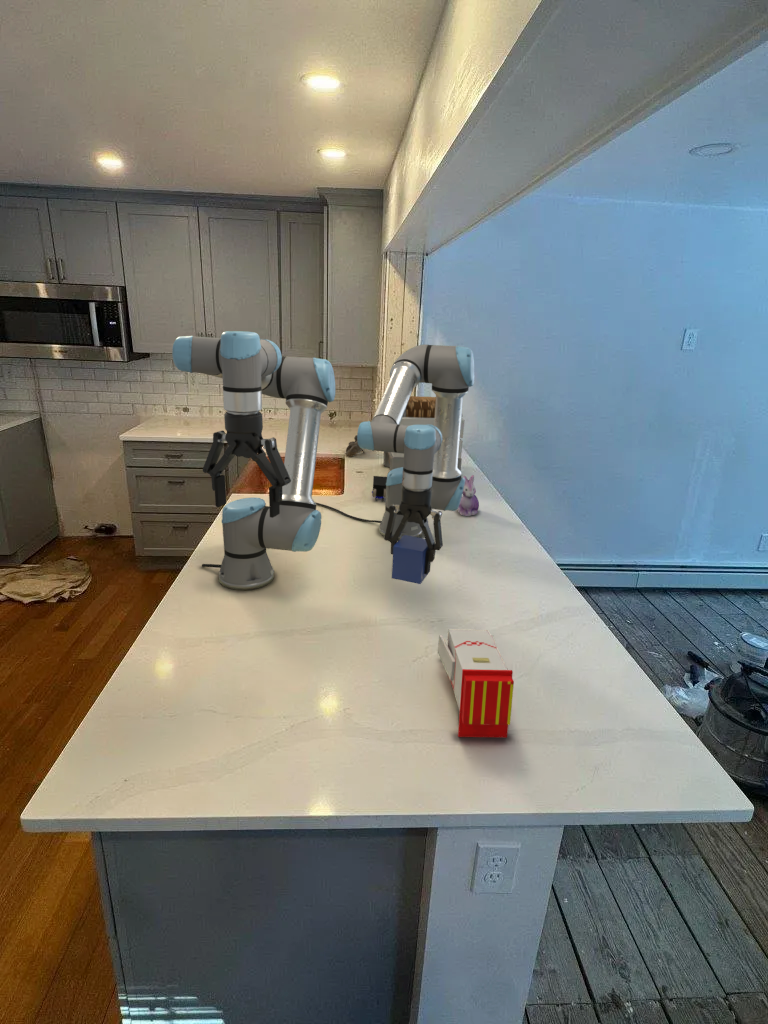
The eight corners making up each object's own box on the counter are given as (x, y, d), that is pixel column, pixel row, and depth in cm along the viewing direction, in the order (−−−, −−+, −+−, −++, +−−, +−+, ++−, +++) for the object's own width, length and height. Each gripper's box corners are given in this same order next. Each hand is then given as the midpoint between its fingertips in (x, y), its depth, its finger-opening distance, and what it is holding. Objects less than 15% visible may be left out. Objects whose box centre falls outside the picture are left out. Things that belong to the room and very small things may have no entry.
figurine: (465, 518, 217) (469, 480, 212) (450, 509, 226) (454, 473, 221) (485, 515, 222) (489, 478, 217) (470, 507, 230) (473, 471, 225)
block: (420, 584, 146) (422, 551, 143) (391, 578, 149) (393, 546, 146) (430, 571, 154) (432, 539, 151) (402, 565, 156) (404, 534, 153)
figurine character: (387, 506, 231) (387, 491, 244) (388, 489, 228) (388, 474, 241) (371, 505, 231) (371, 490, 244) (372, 488, 227) (372, 474, 241)
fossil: (345, 440, 316) (366, 424, 311) (356, 453, 319) (377, 438, 314) (339, 453, 297) (361, 437, 292) (350, 467, 300) (373, 452, 295)
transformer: (382, 463, 289) (386, 382, 275) (445, 464, 293) (451, 384, 279) (390, 482, 257) (394, 392, 243) (460, 483, 261) (468, 394, 247)
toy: (488, 613, 130) (523, 677, 101) (484, 667, 133) (517, 744, 104) (435, 612, 130) (455, 676, 101) (432, 666, 133) (451, 743, 103)
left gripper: (306, 415, 114) (307, 514, 121) (204, 403, 122) (210, 496, 129) (287, 421, 107) (288, 525, 114) (180, 407, 115) (188, 506, 123)
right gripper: (460, 489, 143) (453, 570, 151) (383, 477, 150) (380, 556, 157) (453, 497, 136) (445, 582, 144) (373, 485, 143) (369, 566, 151)
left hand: (247, 510), depth 122 cm, fingers open, 13 cm apart
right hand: (411, 568), depth 151 cm, fingers closed on block, 8 cm apart
